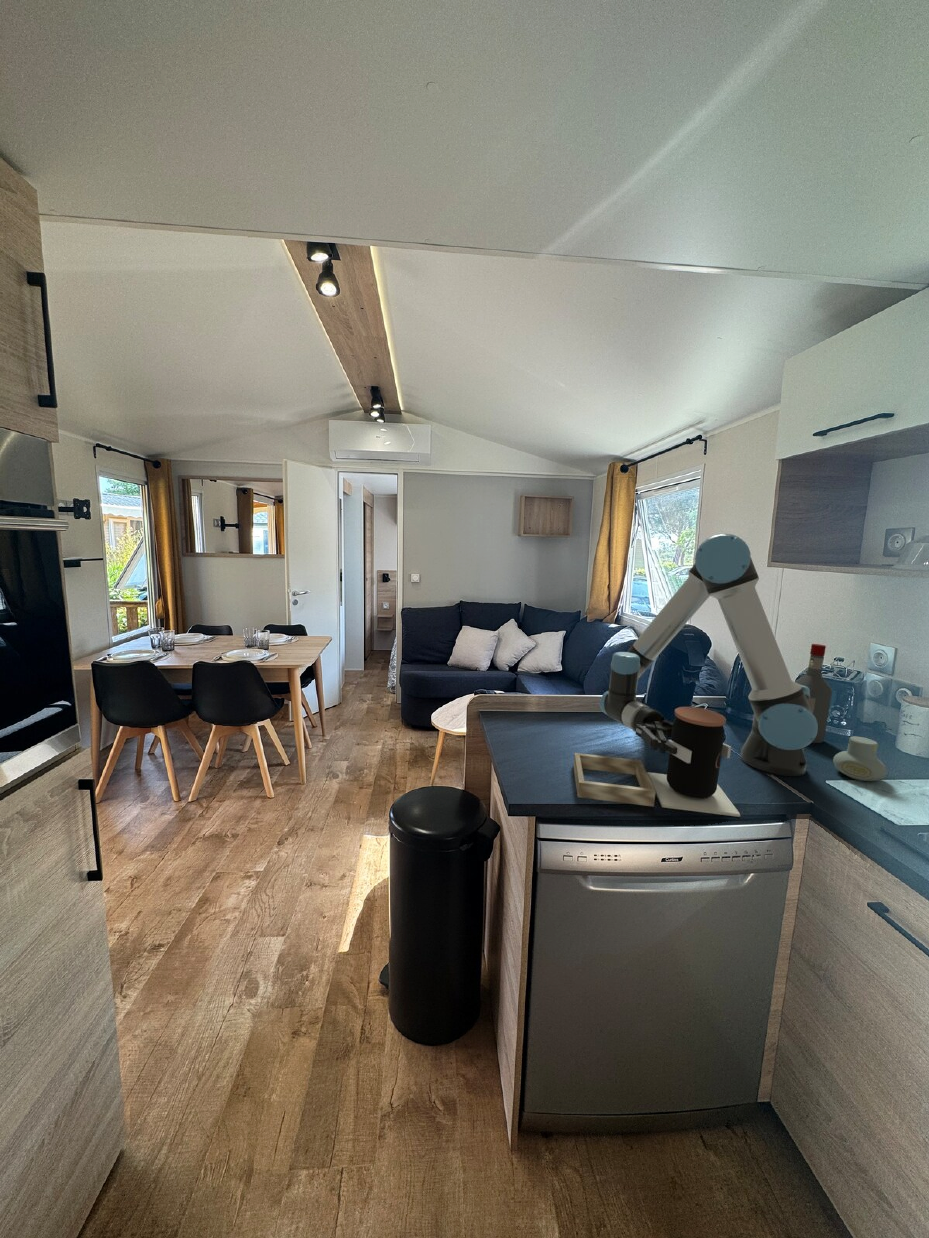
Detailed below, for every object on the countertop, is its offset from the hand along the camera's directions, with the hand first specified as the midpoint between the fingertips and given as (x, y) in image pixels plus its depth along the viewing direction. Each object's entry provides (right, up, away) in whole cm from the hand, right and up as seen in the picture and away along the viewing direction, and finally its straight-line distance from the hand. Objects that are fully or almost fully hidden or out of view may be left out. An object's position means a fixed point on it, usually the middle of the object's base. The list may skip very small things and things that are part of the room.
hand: (709, 754), depth 108 cm
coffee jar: (-2, -9, +5) cm, 11 cm away
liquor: (+53, -8, +46) cm, 71 cm away
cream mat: (-2, -11, +6) cm, 12 cm away
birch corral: (-20, -9, +8) cm, 23 cm away
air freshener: (+49, -11, +20) cm, 54 cm away
